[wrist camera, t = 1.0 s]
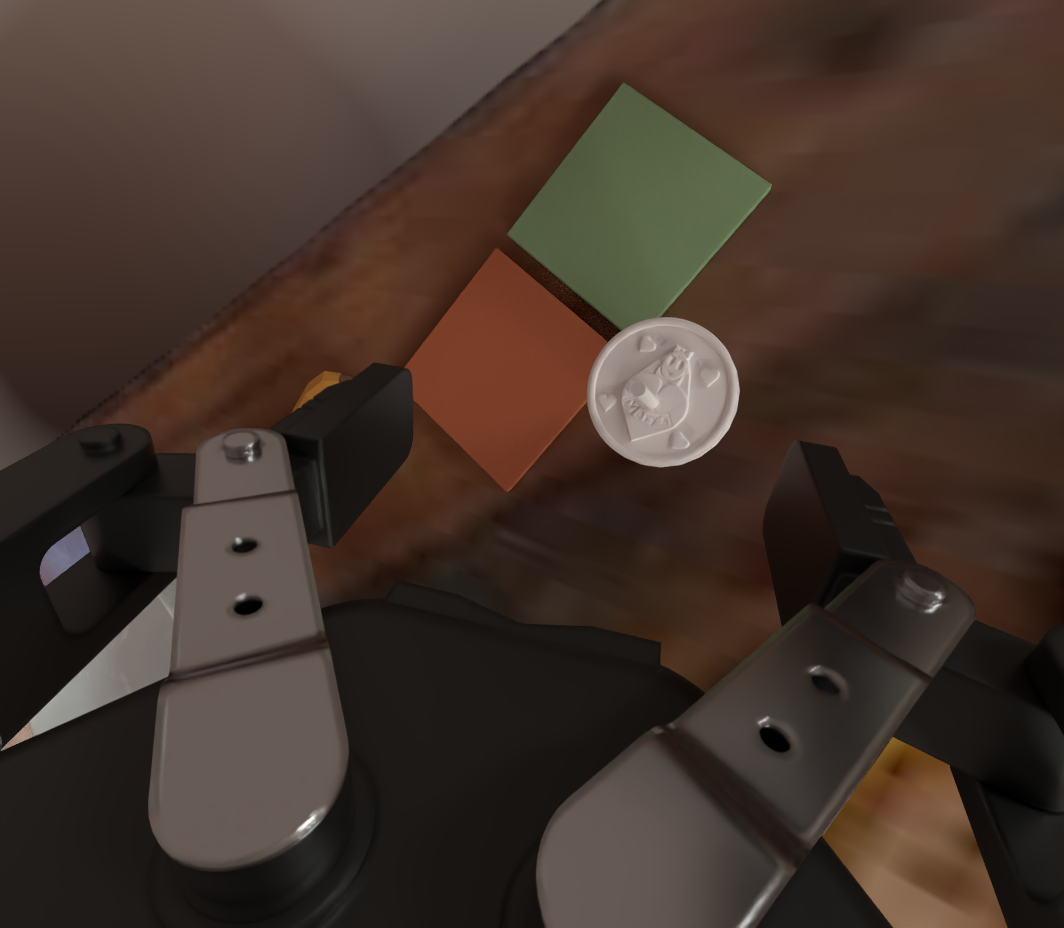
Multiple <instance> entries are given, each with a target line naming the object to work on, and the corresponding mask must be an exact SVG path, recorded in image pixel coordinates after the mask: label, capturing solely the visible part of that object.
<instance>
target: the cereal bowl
mask: <svg viewBox="0 0 1064 928" xmlns="http://www.w3.org/2000/svg"><path fill="white" fill-rule="evenodd" d="M176 582H177V577H176V578H175V579H174V580H173V581H172V582H171V583H170V584H169V585H168V586H167V587H166V588H165V589H164V590H163V591H162V592H161V593H160V594H159V595H158V596H157V597H156V598H155V599H154V600H153V601H152V602H151V603H150V604H149V605H148V606H147V607H146V608H145V609H144V610H143V611H142V612H141V613H140V614H139V615H138V616H137V617H136V618H135V619H134V620H133V621H132V622H131V623H129V624H128V625H127V626H126V627H125V628H124V629H123V630H122V631H121V632H120V633H119V634H118V635H117V636H116V637H115V638H114V639H113V640H112V641H111V642H110V643H109V644H108V645H107V646H106V647H105V648H104V649H103V650H102V651H101V652H100V653H99V654H98V655H97V656H96V657H95V658H94V659H93V660H92V661H91V662H90V663H89V664H88V665H87V666H86V667H85V668H84V669H83V670H81V671H80V672H79V673H78V674H77V675H76V676H75V677H74V678H73V679H72V680H71V681H70V682H69V683H68V684H67V685H66V686H65V687H64V688H63V689H62V690H61V691H60V692H59V693H58V694H57V695H56V696H55V697H54V698H53V699H52V700H51V701H50V702H49V703H48V704H47V705H46V706H45V707H44V708H43V709H42V710H41V711H40V712H39V713H38V714H37V715H36V716H34V717H33V718H32V719H31V720H30V721H29V725H30V728H31V732H32V735H33V737H34V736H36V735H38V734H41V733H43V732H45V731H47V730H50V729H52V728H54V727H56V726H59V725H61V724H63V723H65V722H67V721H70V720H72V719H74V718H76V717H79V716H81V715H83V714H85V713H87V712H90V711H92V710H94V709H96V708H99V707H101V706H103V705H105V704H108V703H110V702H112V701H114V700H116V699H119V698H121V697H123V696H125V695H128V694H130V693H132V692H134V691H136V690H139V689H141V688H143V687H145V686H148V685H150V684H152V683H154V682H157V681H159V680H161V679H163V678H165V677H168V675H169V670H170V660H171V647H172V634H173V621H174V608H175V595H176Z"/></svg>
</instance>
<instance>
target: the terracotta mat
mask: <svg viewBox="0 0 1064 928" xmlns="http://www.w3.org/2000/svg"><path fill="white" fill-rule="evenodd" d="M607 343H608V342H607V341H606V340H605V339H604V338H603V337H602V336H600V335H599V334H598V333H597V332H596V331H594V330H593V329H592V328H591V327H590V326H589V325H587V324H586V323H585V322H584V321H583V320H582V319H580V318H579V317H578V316H577V315H576V314H574V313H573V312H572V311H571V310H570V309H569V308H567V307H566V306H565V305H564V304H563V303H562V302H560V301H559V300H558V299H557V298H556V297H554V296H553V295H552V294H551V293H550V292H549V291H547V290H546V289H545V288H544V287H543V286H542V285H540V284H539V283H538V282H537V281H536V280H534V279H533V278H532V277H531V276H530V275H529V274H527V273H526V272H525V271H524V270H523V269H521V268H520V267H519V266H518V265H517V264H516V263H514V262H513V261H512V260H511V259H510V258H509V257H507V256H506V255H505V254H504V253H503V252H501V251H500V250H499V249H498V248H496V249H495V250H494V251H493V252H492V254H491V255H490V256H489V258H488V259H487V260H486V262H485V263H484V264H483V265H482V267H481V268H480V269H479V271H478V272H477V273H476V275H475V276H474V277H473V278H472V280H471V281H470V282H469V284H468V285H467V286H466V288H465V289H464V290H463V291H462V293H461V294H460V295H459V297H458V298H457V299H456V301H455V302H454V303H453V305H452V306H451V307H450V308H449V310H448V311H447V312H446V314H445V315H444V316H443V318H442V319H441V320H440V321H439V323H438V324H437V325H436V327H435V328H434V329H433V331H432V332H431V333H430V334H429V336H428V337H427V338H426V340H425V341H424V342H423V344H422V345H421V346H420V347H419V349H418V350H417V351H416V353H415V354H414V355H413V357H412V358H411V359H410V360H409V362H408V363H407V364H406V366H405V367H404V368H408V369H409V370H410V371H411V374H412V379H413V400H414V401H415V402H416V403H417V404H418V405H419V406H420V407H421V408H422V409H423V410H424V411H425V412H426V413H427V414H428V415H429V416H430V417H431V418H432V419H433V420H434V421H435V422H436V423H437V424H438V425H439V426H440V427H441V428H442V429H443V430H444V431H445V432H446V433H447V434H448V435H449V436H450V437H451V438H452V439H453V440H454V441H455V442H456V443H458V444H459V445H460V446H461V447H462V448H463V449H464V450H465V451H466V452H467V453H468V454H469V455H470V456H471V457H472V458H473V459H474V460H475V461H476V462H477V463H478V464H479V465H480V466H481V467H482V468H483V469H484V470H485V471H486V472H487V473H488V474H489V475H490V476H491V477H492V478H493V479H494V480H495V481H496V482H497V483H498V484H499V485H500V486H501V487H502V488H503V489H504V490H505V491H506V492H509V491H510V490H511V489H512V488H513V487H514V486H515V484H516V483H517V482H518V481H519V480H520V479H521V478H522V476H523V475H524V474H525V473H526V472H527V471H528V469H529V468H530V467H531V466H532V465H533V464H534V463H535V461H536V460H537V459H538V458H539V457H540V456H541V454H542V453H543V452H544V451H545V450H546V449H547V448H548V446H549V445H550V444H551V443H552V442H553V441H554V439H555V438H556V437H557V436H558V435H559V434H560V433H561V431H562V430H563V429H564V428H565V427H566V426H567V424H568V423H569V422H570V421H571V420H572V419H573V418H574V416H575V415H576V414H577V413H578V412H579V411H580V409H581V408H582V407H583V406H584V405H585V404H586V403H587V386H588V380H589V376H590V372H591V369H592V367H593V364H594V362H595V360H596V358H597V356H598V355H599V353H600V352H601V350H602V349H603V348H604V346H605V345H606V344H607Z"/></svg>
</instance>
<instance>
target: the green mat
mask: <svg viewBox="0 0 1064 928" xmlns="http://www.w3.org/2000/svg"><path fill="white" fill-rule="evenodd" d="M771 186H772V185H771V184H770V183H769V182H767V181H766V180H764V179H763V178H761V177H760V176H759V175H757V174H756V173H754V172H753V171H751V170H750V169H748V168H747V167H746V166H744V165H743V164H741V163H740V162H738V161H737V160H735V159H734V158H733V157H731V156H730V155H728V154H727V153H725V152H724V151H723V150H721V149H720V148H718V147H717V146H715V145H714V144H712V143H711V142H710V141H708V140H707V139H705V138H704V137H702V136H701V135H699V134H698V133H697V132H695V131H694V130H692V129H691V128H689V127H688V126H686V125H685V124H684V123H682V122H681V121H679V120H678V119H676V118H675V117H673V116H672V115H671V114H669V113H668V112H666V111H665V110H663V109H662V108H660V107H659V106H658V105H656V104H655V103H653V102H652V101H650V100H649V99H647V98H646V97H645V96H643V95H642V94H640V93H639V92H637V91H636V90H634V89H633V88H632V87H630V86H629V85H627V84H626V83H624V82H623V83H622V85H621V86H620V87H619V89H618V90H617V91H616V93H615V94H614V95H613V96H612V98H611V99H610V100H609V102H608V103H607V104H606V106H605V107H604V108H603V109H602V111H601V112H600V113H599V115H598V116H597V117H596V119H595V120H594V121H593V122H592V124H591V125H590V126H589V128H588V129H587V130H586V132H585V133H584V134H583V136H582V137H581V138H580V139H579V141H578V142H577V143H576V145H575V146H574V147H573V149H572V150H571V151H570V152H569V154H568V155H567V156H566V158H565V159H564V160H563V162H562V163H561V164H560V165H559V167H558V168H557V169H556V171H555V172H554V173H553V175H552V176H551V177H550V178H549V180H548V181H547V182H546V184H545V185H544V186H543V188H542V189H541V190H540V191H539V193H538V194H537V195H536V197H535V198H534V199H533V201H532V202H531V203H530V204H529V206H528V207H527V208H526V210H525V211H524V212H523V214H522V215H521V216H520V217H519V219H518V220H517V221H516V223H515V224H514V225H513V227H512V228H511V229H510V231H509V232H508V233H507V235H508V236H509V237H510V238H511V239H512V240H513V241H514V242H515V243H517V244H518V245H519V246H520V247H521V248H523V249H524V250H525V251H526V252H527V253H529V254H530V255H531V256H532V257H533V258H535V259H536V260H537V261H538V262H539V263H541V264H542V265H543V266H544V267H545V268H546V269H548V270H549V271H550V272H551V273H552V274H554V275H555V276H556V277H557V278H558V279H560V280H561V281H562V282H563V283H564V284H566V285H567V286H568V287H569V288H570V289H572V290H573V291H574V292H575V293H576V294H578V295H579V296H580V297H581V298H582V299H584V300H585V301H586V302H587V303H588V304H590V305H591V306H592V307H593V308H594V309H595V310H597V311H598V312H599V313H600V314H601V315H603V316H604V317H605V318H606V319H607V320H609V321H610V322H611V323H612V324H613V325H615V326H616V327H617V328H618V329H619V330H621V331H622V330H624V329H625V328H627V327H629V326H631V325H633V324H635V323H638V322H640V321H644V320H647V319H652V318H660V317H661V316H662V315H663V314H664V312H665V311H666V310H667V309H668V308H669V307H670V305H671V304H672V303H673V302H674V301H675V300H676V299H677V297H678V296H679V295H680V294H681V293H682V292H683V290H684V289H685V288H686V287H687V286H688V285H689V284H690V282H691V281H692V280H693V279H694V278H695V277H696V275H697V274H698V273H699V272H700V271H701V270H702V269H703V267H704V266H705V265H706V264H707V263H708V262H709V260H710V259H711V258H712V257H713V256H714V255H715V254H716V252H717V251H718V250H719V249H720V248H721V247H722V245H723V244H724V243H725V242H726V241H727V240H728V239H729V237H730V236H731V235H732V234H733V233H734V232H735V230H736V229H737V228H738V227H739V226H740V225H741V224H742V222H743V221H744V220H745V219H746V218H747V217H748V215H749V214H750V213H751V212H752V211H753V210H754V208H755V207H756V206H757V205H758V204H759V203H760V202H761V200H762V199H763V198H764V197H765V196H766V195H767V193H768V192H769V191H770V190H771Z"/></svg>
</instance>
